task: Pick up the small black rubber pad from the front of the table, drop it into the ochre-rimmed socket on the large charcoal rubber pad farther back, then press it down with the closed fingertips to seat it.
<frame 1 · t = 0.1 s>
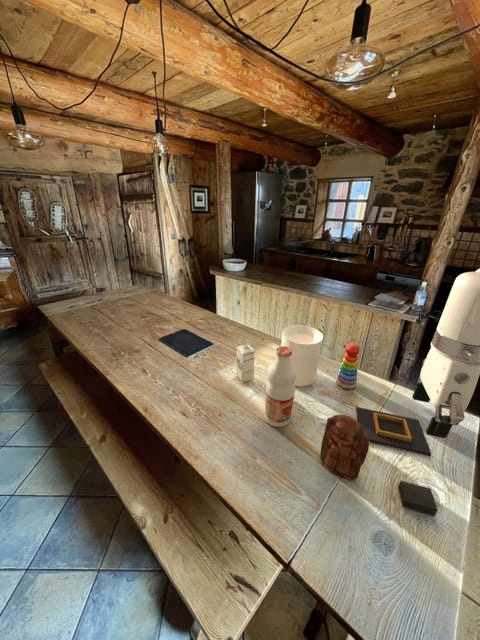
hand: (427, 416, 54), 31 cm above the table, tool pointing down, fingers open, 9 cm apart
black pad: (415, 500, 69), on the table
fruit juice: (277, 417, 94), on the table
canister: (297, 374, 116), on the table
syrup box: (245, 377, 113), on the table
wooden figurine: (337, 466, 77), on the table
base pad: (389, 430, 89), on the table
stacking toy: (345, 383, 111), on the table
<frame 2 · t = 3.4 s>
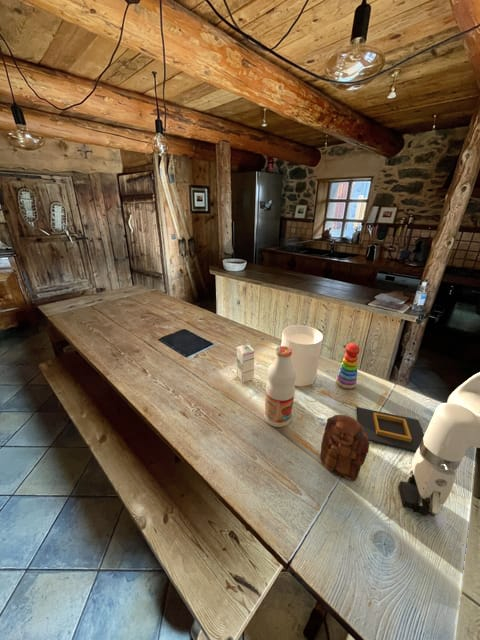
hand: (415, 499, 68), 1 cm above the table, tool pointing down, fingers closed on black pad, 5 cm apart
black pad: (415, 500, 69), on the table, touching gripper
everything else where it was.
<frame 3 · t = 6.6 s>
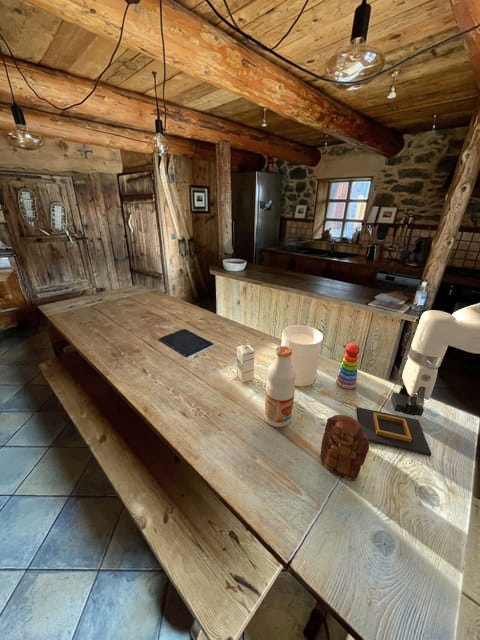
hand: (406, 405, 79), 14 cm above the table, tool pointing down, fingers closed on black pad, 5 cm apart
black pad: (405, 407, 80), point 14 cm above the table, touching gripper
everything else where it was.
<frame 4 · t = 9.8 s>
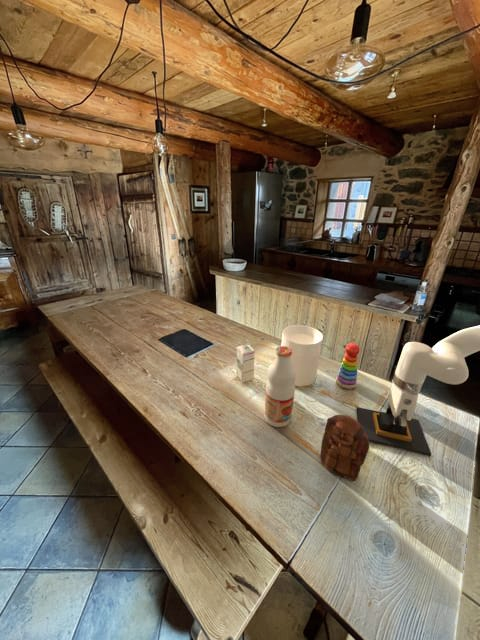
hand: (391, 424, 88), 3 cm above the table, tool pointing down, fingers closed on black pad, 5 cm apart
black pad: (391, 425, 88), point 2 cm above the table, touching gripper
everything else where it was.
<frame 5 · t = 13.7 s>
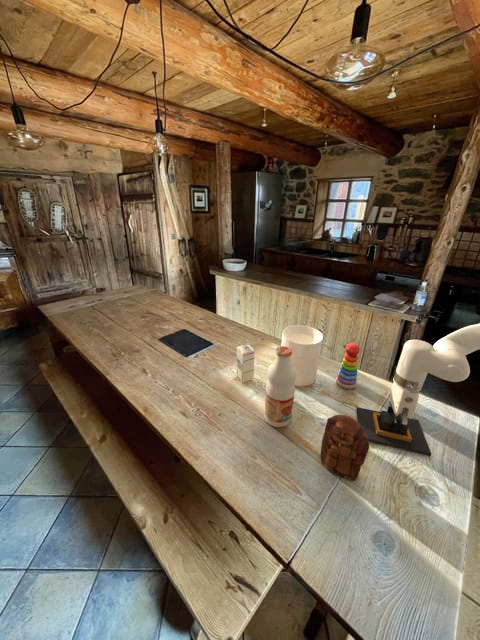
hand: (393, 423, 87), 3 cm above the table, tool pointing down, fingers closed on black pad, 5 cm apart
black pad: (392, 424, 88), point 3 cm above the table, touching gripper
everything else where it was.
when the fingers open (4 cm above the table, at t = 17.3 s): black pad drops 2 cm, resting on base pad.
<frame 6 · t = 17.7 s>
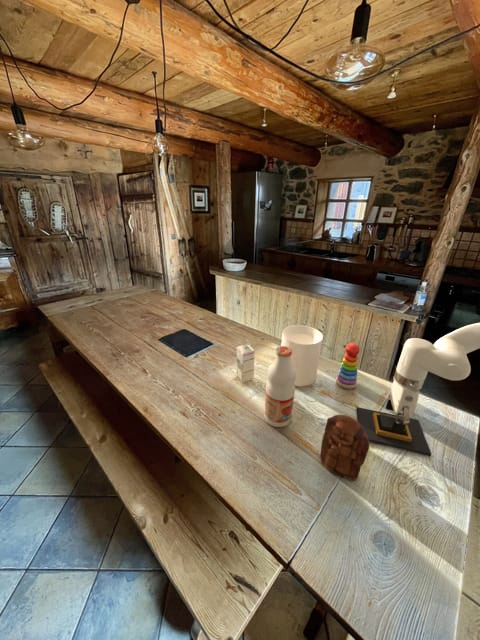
hand: (393, 419, 87), 5 cm above the table, tool pointing down, fingers open, 9 cm apart
black pad: (390, 428, 89), point 1 cm above the table, touching base pad
everything else where it was.
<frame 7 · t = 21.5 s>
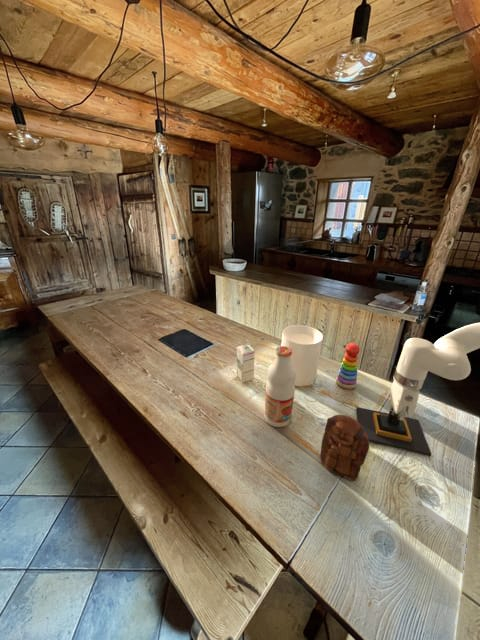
hand: (392, 422, 87), 4 cm above the table, tool pointing down, fingers closed
black pad: (390, 428, 89), point 1 cm above the table, touching base pad, gripper
everything else where it was.
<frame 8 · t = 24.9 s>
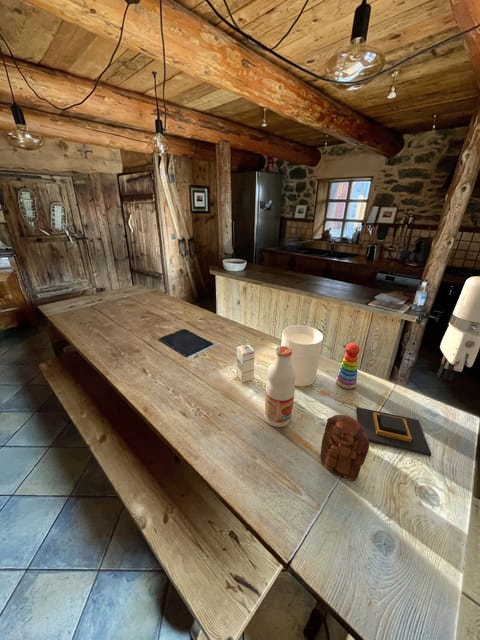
hand: (443, 377, 79), 22 cm above the table, tool pointing down, fingers closed
black pad: (390, 428, 89), point 1 cm above the table, touching base pad
everything else where it was.
at the end: black pad 0.0 cm off-centre on the base pad, point 1.0 cm above the base pad's base; black pad tilted 0°; the gripper is holding nothing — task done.
